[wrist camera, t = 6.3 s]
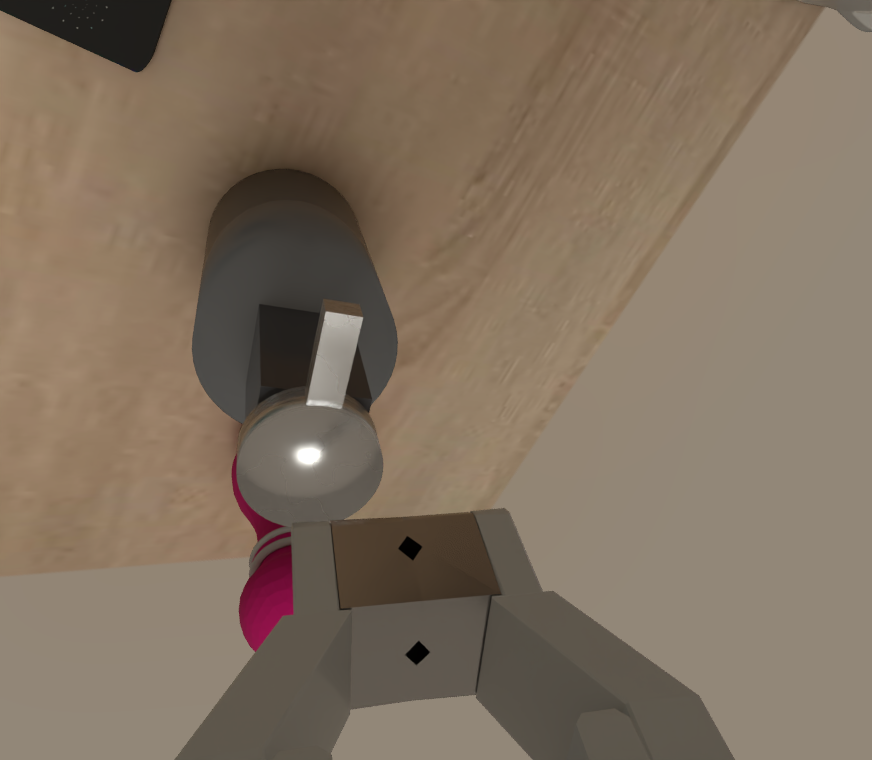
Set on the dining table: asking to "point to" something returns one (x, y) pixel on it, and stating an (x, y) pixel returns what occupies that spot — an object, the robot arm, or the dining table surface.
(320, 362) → the pump head
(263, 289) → the dispenser
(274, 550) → the pepper mill
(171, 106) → the dining table surface
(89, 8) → the smart home device
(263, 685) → the robot arm
